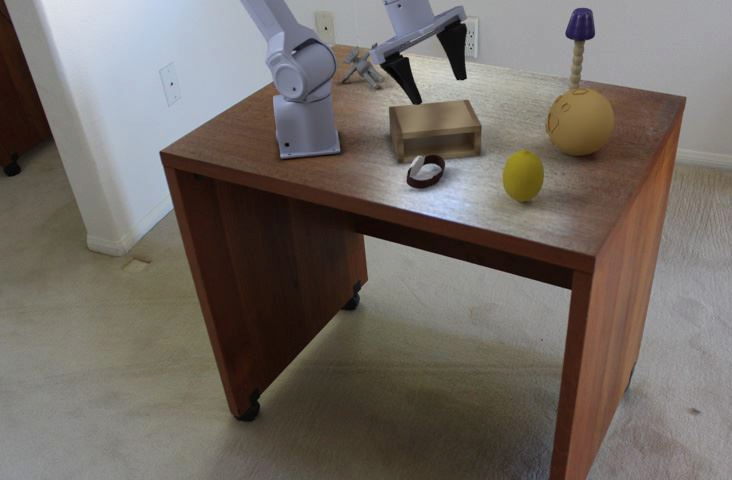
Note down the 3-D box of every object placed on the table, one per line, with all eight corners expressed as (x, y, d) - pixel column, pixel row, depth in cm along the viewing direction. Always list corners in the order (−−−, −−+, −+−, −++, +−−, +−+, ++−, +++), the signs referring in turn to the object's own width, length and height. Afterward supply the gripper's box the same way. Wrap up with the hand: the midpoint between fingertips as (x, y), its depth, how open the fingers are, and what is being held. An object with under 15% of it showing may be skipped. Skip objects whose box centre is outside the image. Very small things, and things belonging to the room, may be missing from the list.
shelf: (397, 163, 115) (396, 133, 112) (390, 135, 123) (388, 106, 120) (480, 155, 116) (481, 125, 113) (468, 128, 124) (468, 99, 121)
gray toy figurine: (354, 98, 136) (326, 69, 140) (368, 110, 142) (340, 82, 145) (392, 56, 134) (363, 28, 138) (405, 70, 140) (376, 43, 143)
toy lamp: (591, 112, 126) (604, 11, 116) (567, 118, 125) (578, 16, 114) (575, 102, 129) (586, 3, 119) (552, 107, 128) (561, 8, 118)
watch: (426, 165, 114) (426, 143, 112) (453, 172, 112) (453, 150, 110) (398, 187, 109) (397, 164, 107) (425, 195, 107) (425, 172, 105)
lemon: (537, 191, 106) (541, 139, 101) (545, 211, 102) (550, 158, 97) (498, 193, 106) (500, 141, 101) (504, 213, 102) (507, 160, 97)
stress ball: (616, 143, 117) (625, 81, 110) (600, 171, 110) (610, 107, 104) (553, 133, 120) (559, 73, 114) (535, 160, 113) (540, 97, 107)
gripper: (369, 17, 95) (409, 116, 100) (462, -30, 98) (496, 68, 103) (349, 20, 101) (388, 113, 107) (438, -24, 104) (471, 68, 110)
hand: (440, 91), depth 105 cm, fingers open, 7 cm apart
